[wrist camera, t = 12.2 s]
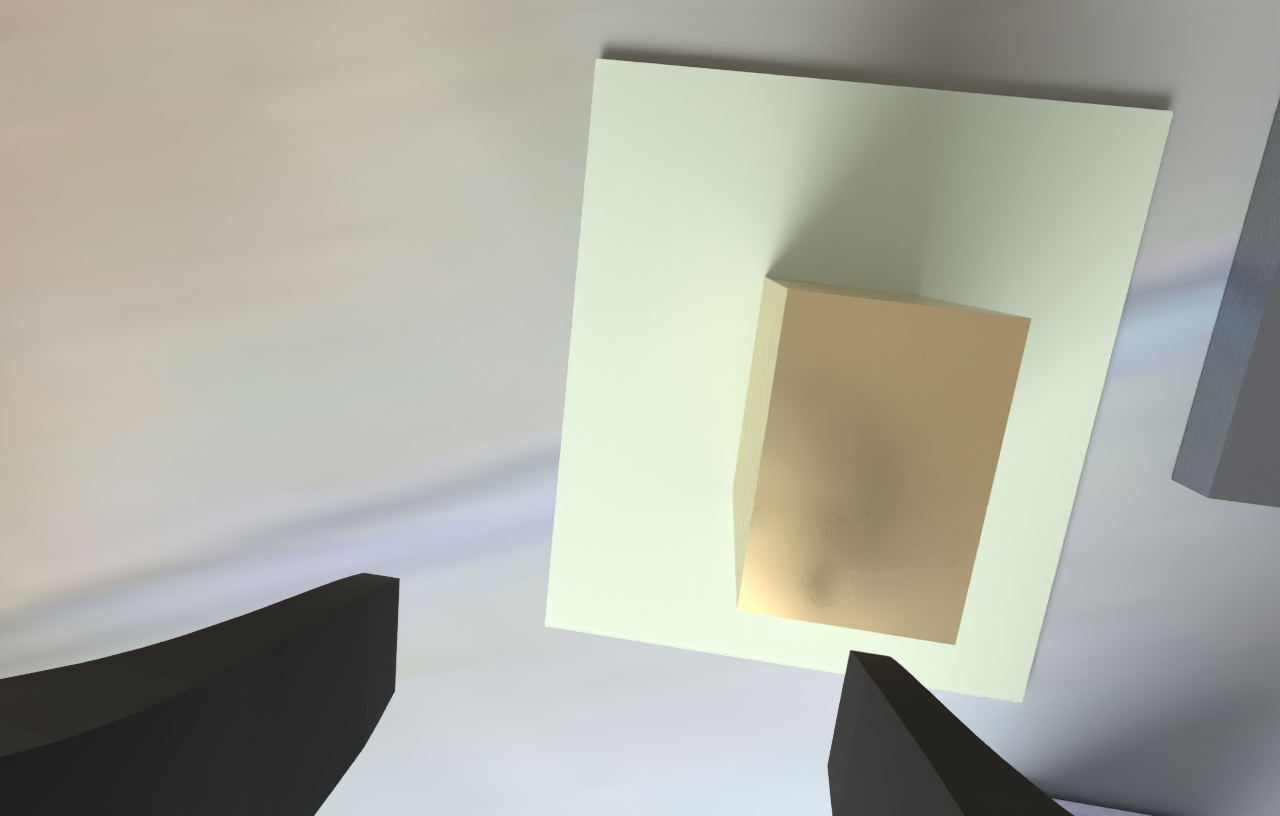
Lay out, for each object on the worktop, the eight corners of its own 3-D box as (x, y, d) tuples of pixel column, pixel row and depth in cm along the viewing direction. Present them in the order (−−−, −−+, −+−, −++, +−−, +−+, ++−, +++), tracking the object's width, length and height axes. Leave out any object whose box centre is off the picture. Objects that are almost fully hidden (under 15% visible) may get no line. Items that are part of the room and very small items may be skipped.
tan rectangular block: (876, 512, 20) (955, 645, 13) (732, 491, 20) (737, 610, 14) (919, 295, 19) (1031, 318, 12) (764, 276, 19) (787, 288, 12)
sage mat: (1016, 694, 21) (1022, 703, 21) (547, 619, 22) (544, 626, 22) (1163, 114, 18) (1174, 111, 17) (598, 62, 19) (595, 58, 18)
